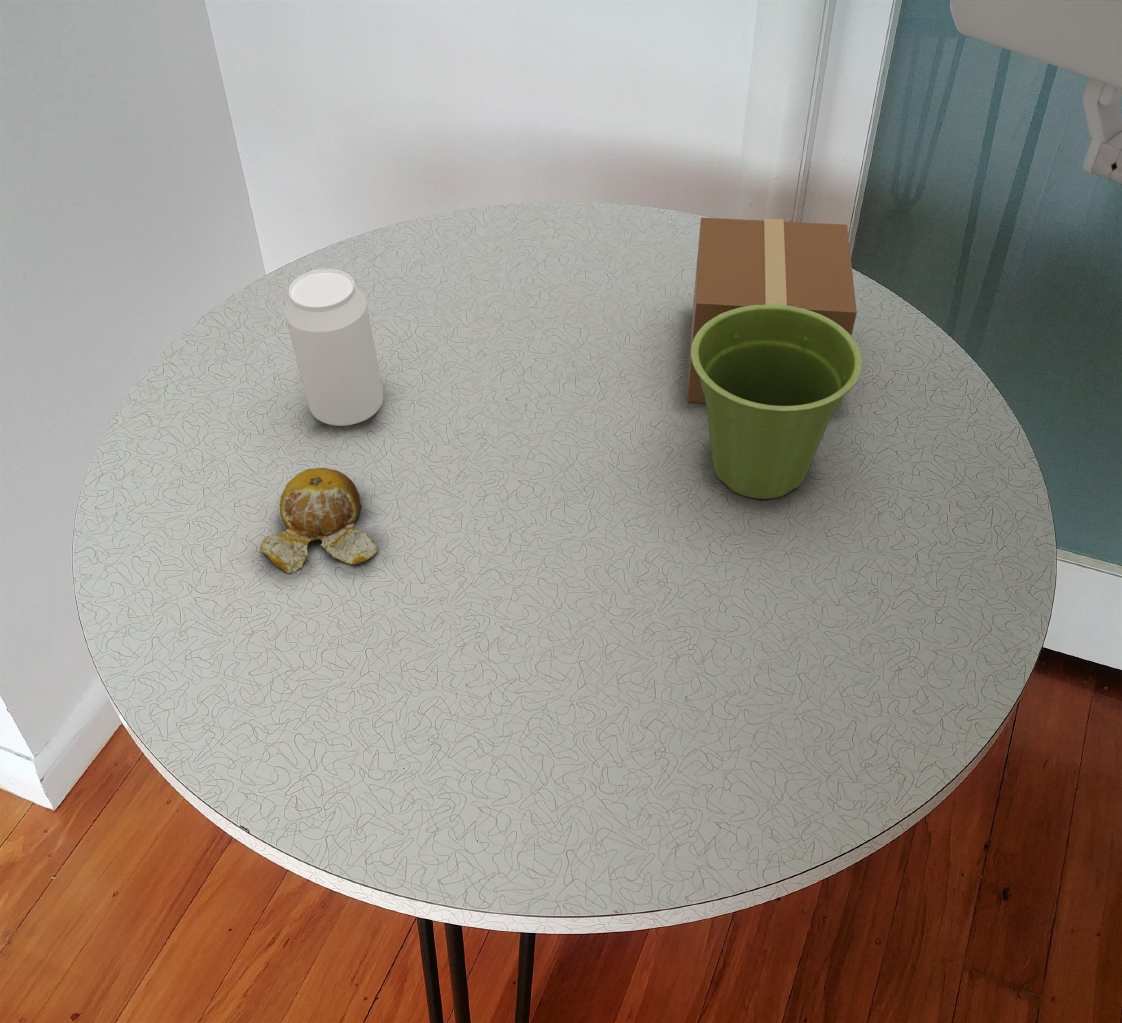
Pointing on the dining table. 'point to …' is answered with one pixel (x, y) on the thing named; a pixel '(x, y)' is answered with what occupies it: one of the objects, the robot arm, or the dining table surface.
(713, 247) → the carton
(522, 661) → the dining table surface
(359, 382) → the beverage can
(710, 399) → the plant pot
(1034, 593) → the dining table surface
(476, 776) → the dining table surface
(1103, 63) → the robot arm
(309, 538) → the fruit
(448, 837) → the dining table surface
